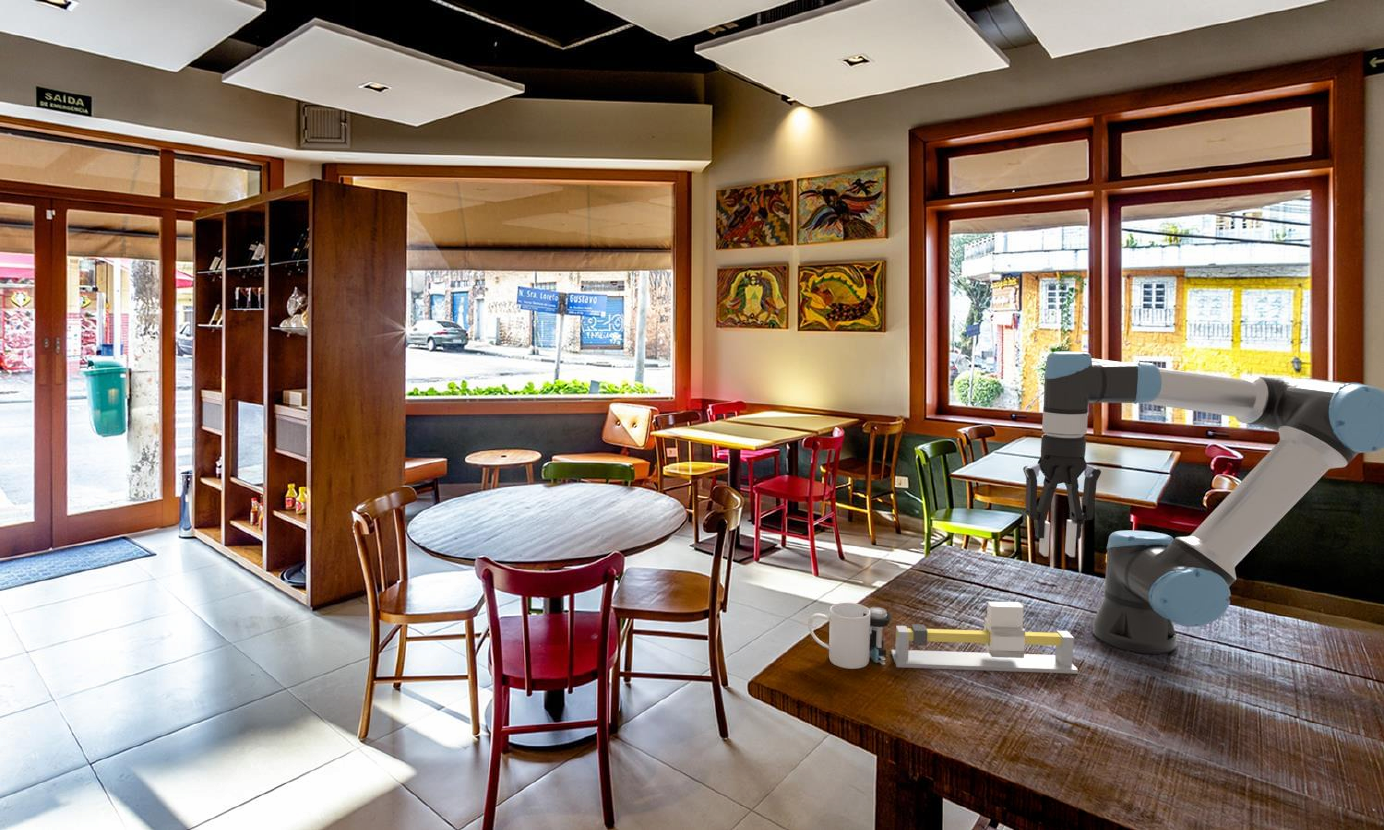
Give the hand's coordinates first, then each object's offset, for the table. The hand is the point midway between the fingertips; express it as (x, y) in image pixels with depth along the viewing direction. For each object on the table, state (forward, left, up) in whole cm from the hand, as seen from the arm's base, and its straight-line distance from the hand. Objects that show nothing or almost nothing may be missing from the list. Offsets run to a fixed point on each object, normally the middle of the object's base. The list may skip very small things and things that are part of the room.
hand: (1056, 554), depth 142 cm
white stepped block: (+9, 0, -20) cm, 22 cm away
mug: (+41, +1, -23) cm, 47 cm away
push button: (+33, 0, -23) cm, 40 cm away
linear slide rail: (+13, 0, -23) cm, 26 cm away
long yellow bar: (+14, 0, -19) cm, 23 cm away
